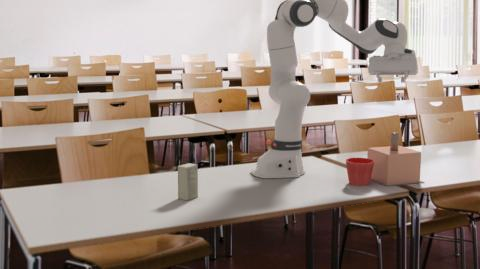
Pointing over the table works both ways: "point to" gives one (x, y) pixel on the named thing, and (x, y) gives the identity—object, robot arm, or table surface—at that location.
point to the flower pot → (359, 171)
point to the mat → (396, 184)
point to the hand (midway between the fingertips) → (391, 81)
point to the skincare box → (187, 181)
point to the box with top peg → (395, 163)
